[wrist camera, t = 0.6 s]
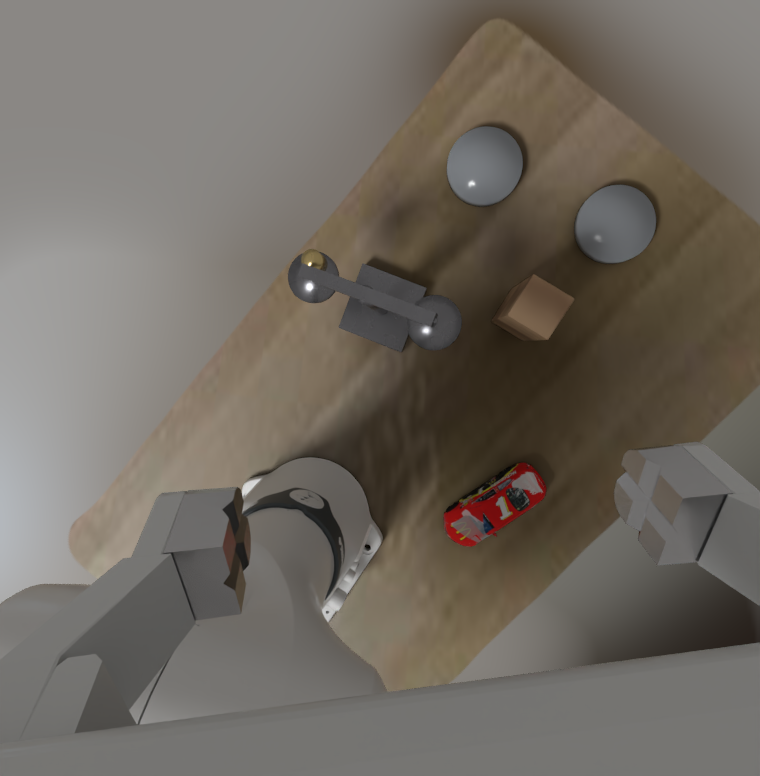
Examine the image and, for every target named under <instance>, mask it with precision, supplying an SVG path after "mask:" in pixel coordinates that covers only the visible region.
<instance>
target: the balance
mask: <svg viewBox="0 0 760 776" xmlns="http://www.w3.org/2000/svg"><path fill="white" fill-rule="evenodd" d="M288 281H289V285H290V288H291V290H292V291H293V293H294V294H295V295H296V296H297V297H298V298H299V299H301V300H303V301H305V302H309V303H320V302H323V301H326V300H327V299H329V298H330V297H331V296H332V295H333V294H334V293H335V291H337V292H340V293H343V294H345V295H348V296H350V299H349V301H348V304H347V307H346V309H345V312H344V315H343V317H342V320H341V323H340V325H339V328H341V329H344V330H346V331H349V332H351V333H354V334H356V335H359V336H361V337H364V338H366V339H369V340H371V341H374V342H376V343H379V344H381V345H384V346H387V347H389V348H392V349H394V350H397V351H399V352H402V350H403V348H404V345H405V343H406V340H407V338H408V335H410V337H411V339H412V340H413V341H414V342H415V343H416V344H417V345H418V346H420V347H422V348H424V349H427V350H440V349H443V348H446V347H448V346H449V345H451V344H452V343H453V342H454V341H455V340H456V338H457V337H458V335H459V333H460V330H461V325H462V319H461V314H460V312H459V310H458V308H457V306H456V305H455V304H454V303H453V302H452V301H451V300H449V299H448V298H446V297H443V296H439V295H430V296H426V297H424V295H425V292H426V290H427V288H425V287H423V286H420V285H418V284H415V283H412V282H410V281H407V280H405V279H402V278H399V277H397V276H394V275H392V274H389V273H387V272H384V271H381V270H379V269H376V268H374V267H371V266H368V265H366V264H362V267H361V270H360V272H359V275H358V277H357V280H356V283H355V282H352V281H349V280H346V279H344V278H341V277H339V272H338V269H337V266H336V264H335V263H334V262H333V260H332V259H331V258H330V257H328V256H327V255H325V254H324V253H321V252H318V251H317V250H314V249H309V250H307V251H305V252H304V253H303V254H301V255H299V256H298V257H297V258H296V259H295V260H294V261H293V262H292V264H291V266H290V269H289V273H288Z"/></svg>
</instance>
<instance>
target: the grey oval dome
mask: <svg viewBox="0 0 760 776" xmlns="http://www.w3.org/2000/svg"><path fill="white" fill-rule="evenodd" d="M655 228H656V215H655V210H654V207H653V205H652V203H651V202H650V200H649V199H648V197H647V196H646V195H645V194H643V193H642V192H641V191H639V190H638V189H636V188H634V187H631V186H627V185H611V186H607V187H605V188H602V189H600V190H598V191H597V192H595V193H594V194H593V195H591V196H590V197H589V198H588V199H587V200H586V201H585V202H584V203H583V204H582V206H581V207H580V209H579V211H578V213H577V215H576V218H575V223H574V234H575V239H576V242H577V244H578V246H579V248H580V249H581V251H582V252H583V253H584V254H585V255H586V256H588V257H589V258H590V259H592V260H594V261H596V262H599V263H604V264H617V263H621V262H624V261H627V260H629V259H631V258H633V257H635V256H637V255H638V254H640V253H641V252H642V251H643V250H644V249H645V248H646V247H647V246H648V244H649V243H650V241H651V239H652V237H653V235H654V232H655Z"/></svg>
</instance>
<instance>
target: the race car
mask: <svg viewBox="0 0 760 776" xmlns="http://www.w3.org/2000/svg"><path fill="white" fill-rule="evenodd" d="M545 495H546V485H545V483H544V481H543V479H542V478H541V476H540V475H539V474H538V472H537V471H536V470H535V469H534V468H533V467H532V465H529V464H527V463H517V464H515V465H512V467H508V468H506V470H504V471H502V472H500V474H499V477H498V476H497V475H496V476H495V477H493V478H492V479H490V480H489V481H487V482H486V483H484V484H483V485H481V486H480V487H478V488H477V489H475V490H474V491H472V492H471V493H469V494H468V495H466V496H465V497H463V498H462V499H460V500H459V503H458V502H456V503H454V504H453V505H452V506H449V507H448V508H447V510H446V512H445V513H444V529H445V531H446V534H447V535H448V537H449V538H450V539H452V540H453V541H454V542H456V543H458V544H460V545H463V546H474V545H476V544H477V543H479V542H480V541H482V540H483V539H485V538H487V537H489V536H490V535H492V534H493V533H494V534H493V535H494V536H496V537H497V535H496V533H495V532H496V531H498V530H499V529H501V528H502V527H504V526H505V525H507V524H508V523H510V522H511V521H513V520H514V519H516V518H517V517H519V516H520V515H522V514H523V513H525V512H526V511H528V510H530V509H531V508H533V507H534V506H535V505H536V504H538V503H539V502H540V501H542V500H543V498H544V497H545Z"/></svg>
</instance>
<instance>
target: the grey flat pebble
mask: <svg viewBox="0 0 760 776" xmlns="http://www.w3.org/2000/svg"><path fill="white" fill-rule="evenodd" d="M522 167H523V159H522V153H521V150H520V148H519V146H518V144H517V142H516V141H515V139H514V138H513V137H512V136H511V135H510V134H508V133H507V132H505V131H504V130H501V129H499V128H495V127H478V128H475V129H472V130H470V131H468V132H466V133H465V134H464V135H462V136H461V137H460V138H459V139H458V140H457V141H456V143H455V144H454V145H453V147H452V149H451V151H450V154H449V157H448V162H447V178H448V182H449V185H450V187H451V189H452V191H453V192H454V194H455V195H456V196H457V197H458V198H459V199H460V200H462V201H463V202H465V203H467V204H469V205H473V206H478V207H485V206H491V205H494V204H497V203H499V202H501V201H502V200H504V199H505V198H506V197H507V196H509V195H510V193H511V192H512V191H513V190H514V188H515V187H516V185H517V183H518V181H519V179H520V176H521V173H522Z"/></svg>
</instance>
